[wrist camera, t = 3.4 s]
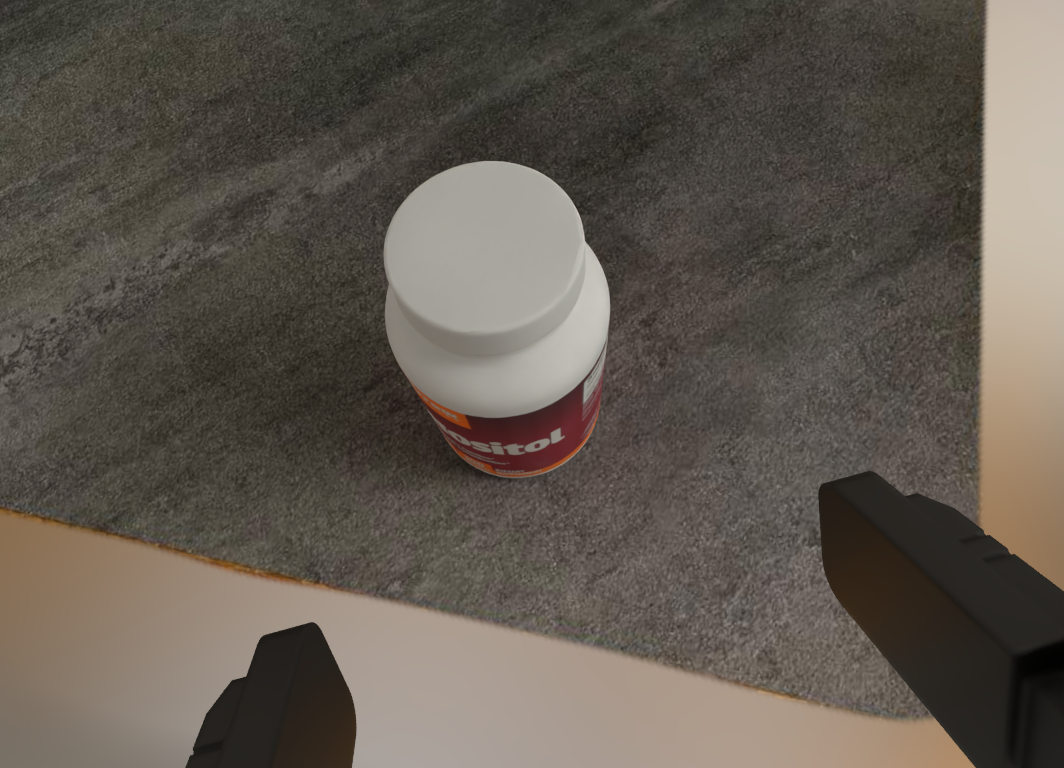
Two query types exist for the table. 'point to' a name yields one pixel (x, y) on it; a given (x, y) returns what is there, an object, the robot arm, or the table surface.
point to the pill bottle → (498, 315)
